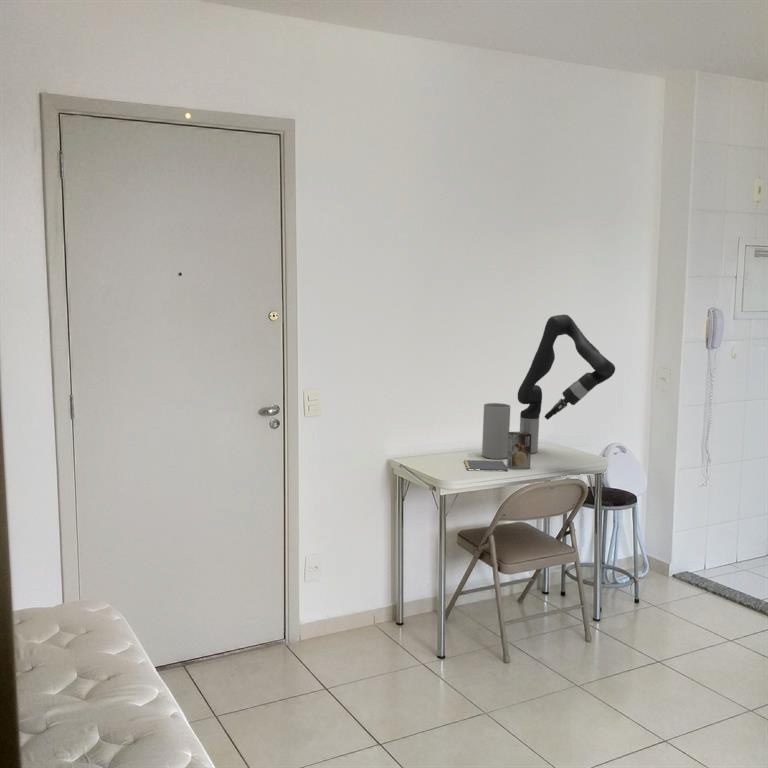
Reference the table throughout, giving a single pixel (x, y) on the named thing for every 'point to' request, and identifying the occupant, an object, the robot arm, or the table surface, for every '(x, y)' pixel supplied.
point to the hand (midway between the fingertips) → (546, 417)
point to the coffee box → (519, 450)
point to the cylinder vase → (495, 430)
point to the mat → (485, 465)
